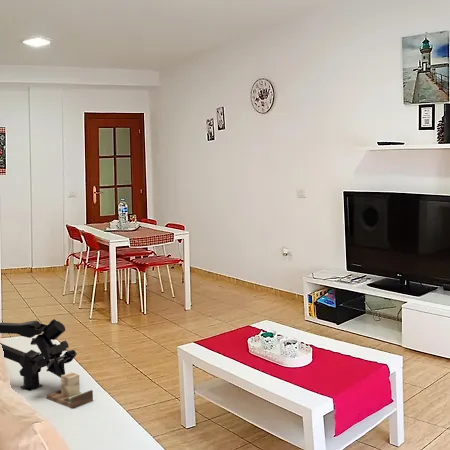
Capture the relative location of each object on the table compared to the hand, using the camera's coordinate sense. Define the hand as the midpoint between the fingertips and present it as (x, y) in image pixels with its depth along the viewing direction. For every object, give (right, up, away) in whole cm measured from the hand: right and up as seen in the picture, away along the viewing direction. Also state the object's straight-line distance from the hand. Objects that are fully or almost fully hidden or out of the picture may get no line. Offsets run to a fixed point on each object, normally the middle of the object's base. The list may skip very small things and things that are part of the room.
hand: (64, 378), depth 232 cm
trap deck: (+3, -7, -4) cm, 9 cm away
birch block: (+3, -5, -2) cm, 6 cm away
